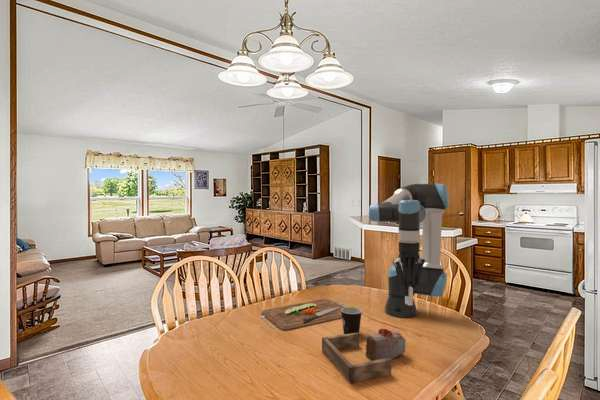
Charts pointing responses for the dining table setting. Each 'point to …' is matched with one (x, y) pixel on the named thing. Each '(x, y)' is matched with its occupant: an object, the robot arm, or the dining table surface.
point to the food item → (385, 344)
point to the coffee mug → (351, 319)
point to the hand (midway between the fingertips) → (408, 304)
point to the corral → (357, 370)
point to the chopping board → (303, 314)
